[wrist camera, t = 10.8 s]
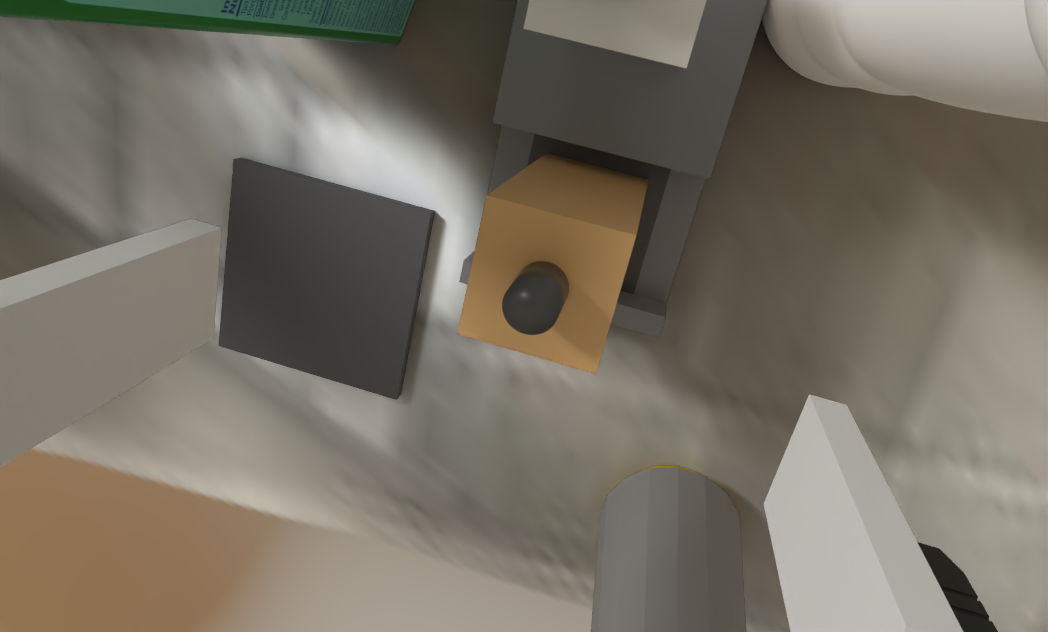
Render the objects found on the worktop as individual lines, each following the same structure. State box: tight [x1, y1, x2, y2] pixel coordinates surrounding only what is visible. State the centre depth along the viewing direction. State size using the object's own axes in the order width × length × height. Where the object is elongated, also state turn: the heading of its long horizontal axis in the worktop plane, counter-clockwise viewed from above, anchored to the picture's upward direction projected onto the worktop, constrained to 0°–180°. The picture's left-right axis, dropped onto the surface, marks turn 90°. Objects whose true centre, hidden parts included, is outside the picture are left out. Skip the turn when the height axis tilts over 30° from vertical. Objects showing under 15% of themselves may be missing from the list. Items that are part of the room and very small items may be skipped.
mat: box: [219, 158, 435, 400], centre depth 36 cm, size 10×10×1 cm
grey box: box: [460, 0, 767, 338], centre depth 24 cm, size 9×21×14 cm, turn 167°
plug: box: [457, 153, 649, 374], centre depth 26 cm, size 4×4×13 cm
